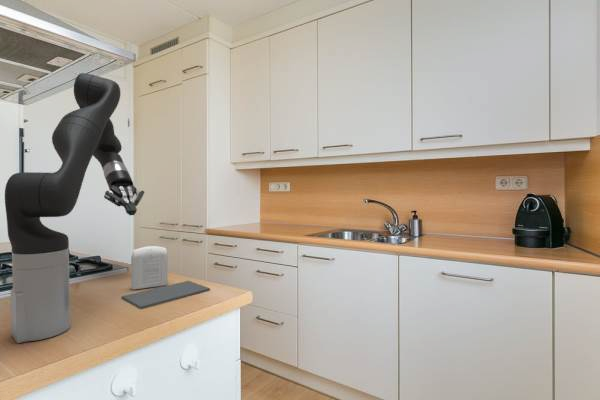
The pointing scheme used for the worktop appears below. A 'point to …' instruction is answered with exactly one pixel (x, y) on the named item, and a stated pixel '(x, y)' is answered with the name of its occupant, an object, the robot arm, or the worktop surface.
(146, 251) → the photo printer
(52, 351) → the worktop surface
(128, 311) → the worktop surface
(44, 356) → the worktop surface
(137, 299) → the mat
